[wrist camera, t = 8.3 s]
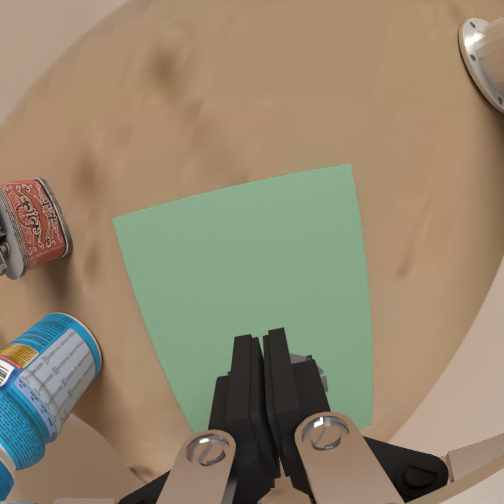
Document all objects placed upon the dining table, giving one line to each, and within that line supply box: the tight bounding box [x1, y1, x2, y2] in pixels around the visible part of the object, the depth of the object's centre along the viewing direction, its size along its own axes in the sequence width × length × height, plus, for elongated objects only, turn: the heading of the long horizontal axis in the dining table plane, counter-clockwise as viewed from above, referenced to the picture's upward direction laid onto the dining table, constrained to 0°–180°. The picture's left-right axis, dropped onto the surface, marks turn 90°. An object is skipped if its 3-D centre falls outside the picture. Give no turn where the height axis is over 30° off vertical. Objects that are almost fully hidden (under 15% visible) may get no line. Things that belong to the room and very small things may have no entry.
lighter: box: [0, 178, 73, 280], centre depth 18 cm, size 8×3×10 cm, turn 26°
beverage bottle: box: [0, 312, 102, 501], centre depth 16 cm, size 8×8×20 cm
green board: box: [112, 163, 373, 434], centre depth 24 cm, size 26×18×2 cm
